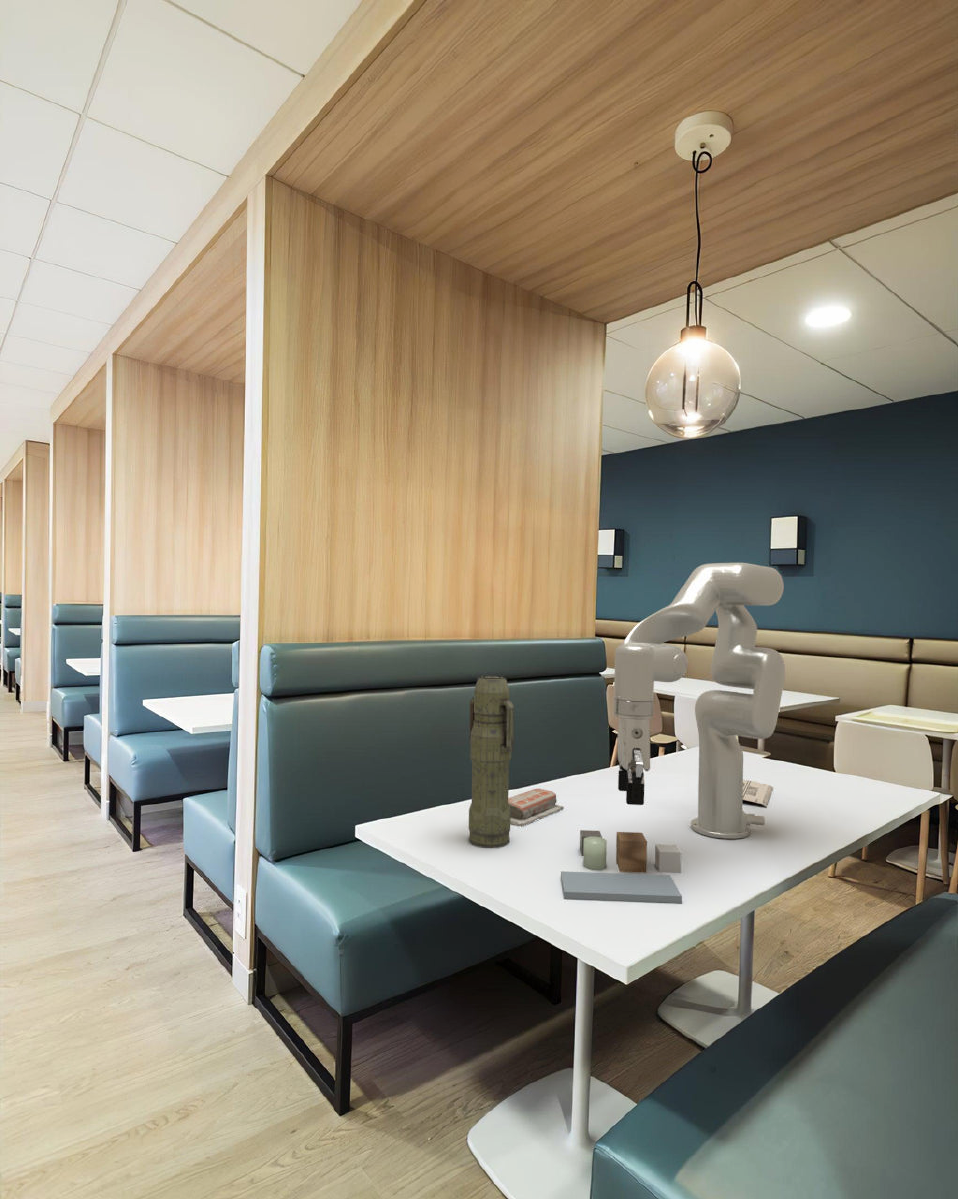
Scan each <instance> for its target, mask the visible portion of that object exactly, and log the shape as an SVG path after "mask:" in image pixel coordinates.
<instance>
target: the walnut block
mask: <svg viewBox="0 0 958 1199" xmlns="http://www.w3.org/2000/svg"><path fill="white" fill-rule="evenodd" d="M615 844H616V849H615V850H616V852H615V863H616V865H618V866H617V868H618V870H619V873H635V874H637V873H639V874H643V873H644V874H646V873H647V865H648V863H647V862H648V856H647V855H648V841H647V839H646V837H645V835H644V834H643V832H634V831H633V832H630V831H626V832H625V831H616V843H615Z"/></svg>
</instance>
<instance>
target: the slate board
mask: <svg viewBox="0 0 958 1199" xmlns="http://www.w3.org/2000/svg"><path fill="white" fill-rule="evenodd" d="M560 882H561V887H562V892H563V897H564V900H585V901H586V900H587V901H609V902H610V901H612V902H613V901H616V902H642V903H663V904H664V903H665V904H683V895H682V894H681V892H680V891H679V890H680V889H679V888H678V887H677V884H676V883H675V882H674V879H673V878H672V876H671V875H669V874H667V875H666V874H646V873H644V874H643V873H639V874H637V873H621V872H619V873H616V872H614V873H613V872H611V873H610V872H591V871H590V872H589V871H587V872H586V871H585V872H584V871H566V870H564V871H560Z"/></svg>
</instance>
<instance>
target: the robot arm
mask: <svg viewBox="0 0 958 1199" xmlns="http://www.w3.org/2000/svg"><path fill="white" fill-rule="evenodd" d="M784 584H785V583H784V580H783V577H782V574H780V573H779V571H778V570H777V569H776V568H774V567H770V566H765V565H764V566H763V565H759V564H754V563H747V562H717V563H715V562H714V563H705V564H701V565H699V566H697V567H696V568H695V569H694V570H693V571H692V572H691V573H690V575H689V577H688V578H687V580H686V581H685V583H684V584H683V586H682V587H681V588H680V590H679V591H678V593H677V594H676V595H675V597H674V598H673V600H672V602H670V603H669V605H667V606H665V607H662V608H661V609H660V610H657V611H656V612H655V613H652V614H651V615H649V616H647V617H646V618H643V619H642V620H641V621H640V622H639V623H637V624H636V625H635V626H634V627H633V628H631V630H630V632H629V633H628V635H627V636H626V637H625V639H623V642H622V644H621V645H619V646H617V647H616V649H615V653H614V654H615V655H614V681H613V683H614V684H613V712H612V714H613V716H614V717H617V718H618V723H617V725H618V728H617V760H618V762H619V765H618V766H619V767H618V769H619V770H618V775H617V776H618V778H617V779H618V781H617V784H618V785H617V790H618V791H619V792H625V794H626V795H625V797H626V798H625V802H626V804H627V805H631V806H632V805H634V806H643V805H644V804H645V774H644V771H645V772H649V771H650V770H651V731H650V729H651V728H650V719H653V718H654V689H655V686H654V685H655V682H658V683H659V682H661V683H673V682H675V683H676V682H678V681H679V680H680V679H682V678H683V677H684V676H685V675H686V673H687V671H688V668H689V667H688V666H689V660H688V657H687V654H686V653H685V652H684V650H682V649H681V648H680V647H679V646H675V645H672V644H664V643H666V642H669V641H671V640H675V639H681V638H684V637H688V636H692V635H693V634H697V633H699V632H701V631H702V630H703V629H705V627H706V626H707V624H708V623H709V621H710V620H711V618H712V616H713V615H714V613H716V616H717V617H716V618H717V620H718V621H717V622H718V628H717V635H716V640H715V644H714V650H713V655H712V661H711V665H710V676H711V679H712V680H713V681H714V682H715V683H716V684H718V685H721V686H726V687H732V688H738V689H739V688H740V689H748V690H753V693H744V692H737V691H729V690H720V689H718V690H717V689H714V690H712V689H711V690H708V691H704V692H703V693H701V694H700V695H699V696H698V697H697V699H696V701H695V704H694V715H695V720H696V727H697V732H698V733H697V734H698V786H697V787H698V788H697V789H698V791H697V792H698V794H697V796H698V797H697V817H695V818H693V819H692V820H691V821H690V827H691V829H692V830H693V831H695V832H696V833H697V834H700V835H704V836H707V837H710V838H717V839H727V840H733V839H734V840H736V839H742V838H746V837H747V836H750V832H751V831H750V826H751V825H755V826H756V825H757V826H764V825H765V824H766V820H765V816H763V815H755V813H746V812H745V811H744V810H743V801H744V800H743V780H744V754H743V753H744V752H743V748H742V747H741V744H740V742H739V740H738V738H737V737H743V738H748V739H754V740H755V739H756V740H765V739H768V738H770V737H771V736H772V735H773V734H774V731H775V729H776V727H777V726H776V725H777V723H778V717H779V712H780V707H781V700H782V696H783V690H784V683H785V678H786V676H785V675H786V666H785V665H786V664H785V662H784V658H783V656H782V654H780V652H779V651H777V650H776V649H773V648H771V647H770V648H769V647H760V646H756V641H757V640H756V639H757V634H758V626H757V624H756V622H755V619H754V618H753V616H752V614H751V613H750V612H749V611H748V610H747V608H746V607H745V606H766V607H767V606H773V605H775V604H776V603H778V602H779V601H780V600H781V598H782V595H783V594H784V590H785V589H784Z"/></svg>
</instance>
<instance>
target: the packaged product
mask: <svg viewBox="0 0 958 1199" xmlns="http://www.w3.org/2000/svg"><path fill="white" fill-rule="evenodd" d="M508 803H509V806H510V809H511V818H510V825H512V824H513V826H515V825H516V827H519V826H521V828H523V827H525V826H527V825H529V824H531V823H534V822H533V821H535V820H537V819H540V820H542V819H545V818H548V817H549V815H550V816H551V815H554V814H556V813H558V812H561V811H563V810H564V808H565V807H564V806H563V805H559V804H557V794H556V792H554V791H553V790H548V789H543V788H535V789H534V788H533V789H531V790H527V791H525V792H521V793H520V794H517V795H513V796H511V797H508ZM562 809H563V810H562ZM560 810H561V811H560ZM553 813H554V814H553ZM544 817H545V818H544ZM537 821H538V820H537ZM535 822H536V821H535ZM526 824H527V825H526ZM524 825H525V826H524ZM522 826H523V827H522Z"/></svg>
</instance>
